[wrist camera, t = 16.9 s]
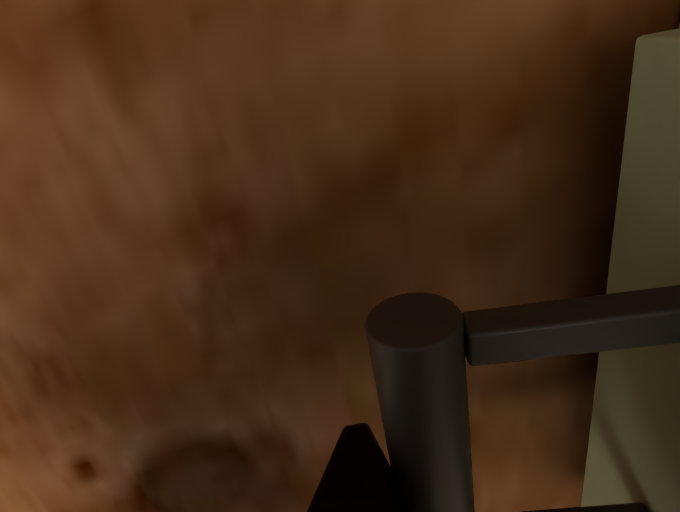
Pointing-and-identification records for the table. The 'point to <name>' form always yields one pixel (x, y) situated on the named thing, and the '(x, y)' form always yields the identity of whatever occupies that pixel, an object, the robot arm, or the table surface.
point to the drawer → (561, 336)
